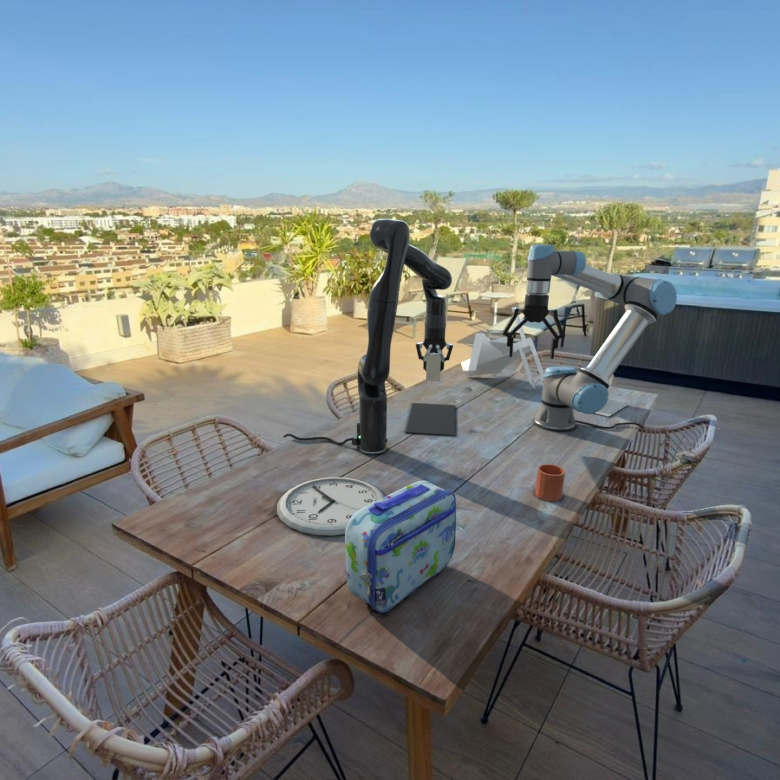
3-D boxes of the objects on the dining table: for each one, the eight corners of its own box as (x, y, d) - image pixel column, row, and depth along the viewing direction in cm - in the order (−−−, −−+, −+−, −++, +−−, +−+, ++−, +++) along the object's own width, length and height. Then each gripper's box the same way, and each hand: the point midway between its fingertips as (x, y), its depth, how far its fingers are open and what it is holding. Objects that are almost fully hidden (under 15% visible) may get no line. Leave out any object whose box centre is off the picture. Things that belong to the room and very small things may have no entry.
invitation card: (608, 416, 214) (573, 407, 224) (608, 416, 214) (573, 407, 224) (627, 404, 229) (594, 396, 238) (627, 405, 229) (594, 397, 239)
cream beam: (441, 363, 215) (442, 341, 212) (439, 380, 190) (440, 356, 188) (429, 362, 216) (430, 341, 213) (425, 380, 191) (426, 356, 188)
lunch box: (374, 626, 100) (375, 530, 93) (338, 598, 107) (337, 508, 101) (459, 568, 117) (465, 484, 111) (424, 547, 124) (427, 467, 118)
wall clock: (392, 527, 129) (269, 531, 127) (392, 533, 130) (269, 537, 127) (383, 473, 158) (282, 475, 155) (383, 478, 158) (283, 480, 156)
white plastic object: (482, 418, 267) (461, 395, 242) (463, 346, 289) (443, 318, 265) (552, 394, 255) (538, 367, 230) (527, 321, 277) (512, 289, 252)
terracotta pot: (559, 489, 154) (562, 464, 151) (564, 502, 147) (567, 476, 144) (533, 487, 154) (536, 463, 152) (537, 500, 147) (540, 474, 145)
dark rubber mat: (454, 406, 224) (454, 405, 224) (454, 436, 192) (454, 435, 192) (412, 403, 226) (412, 402, 226) (405, 433, 194) (405, 432, 194)
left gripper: (455, 324, 192) (452, 369, 197) (416, 323, 193) (415, 367, 198) (455, 328, 185) (452, 374, 190) (414, 326, 186) (413, 372, 191)
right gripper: (574, 293, 172) (566, 356, 179) (497, 291, 175) (492, 352, 181) (579, 296, 165) (571, 361, 172) (499, 293, 168) (494, 358, 174)
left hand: (433, 370), depth 194 cm, fingers closed on cream beam, 5 cm apart
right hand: (530, 357), depth 176 cm, fingers open, 13 cm apart
